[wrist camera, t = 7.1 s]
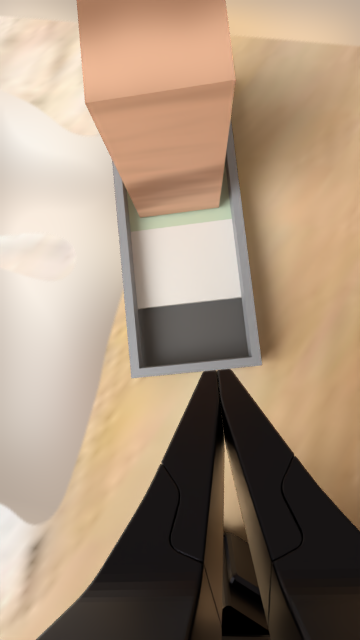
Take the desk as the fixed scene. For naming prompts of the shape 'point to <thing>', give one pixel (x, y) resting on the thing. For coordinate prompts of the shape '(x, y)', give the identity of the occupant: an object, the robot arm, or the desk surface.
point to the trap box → (188, 284)
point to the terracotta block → (161, 96)
